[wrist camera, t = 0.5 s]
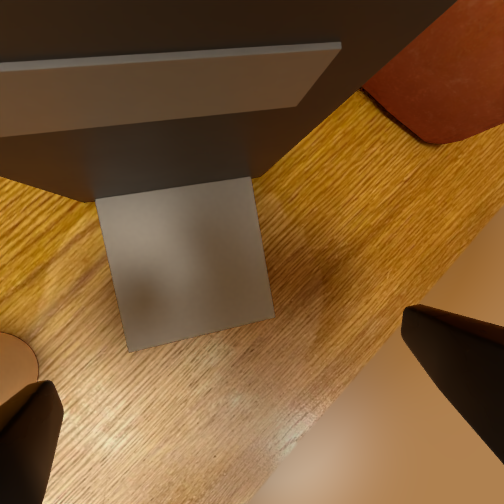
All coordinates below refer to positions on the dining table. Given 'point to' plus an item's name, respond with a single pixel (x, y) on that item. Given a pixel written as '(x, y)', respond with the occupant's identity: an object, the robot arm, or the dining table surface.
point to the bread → (448, 75)
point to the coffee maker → (182, 130)
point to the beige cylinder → (15, 366)
